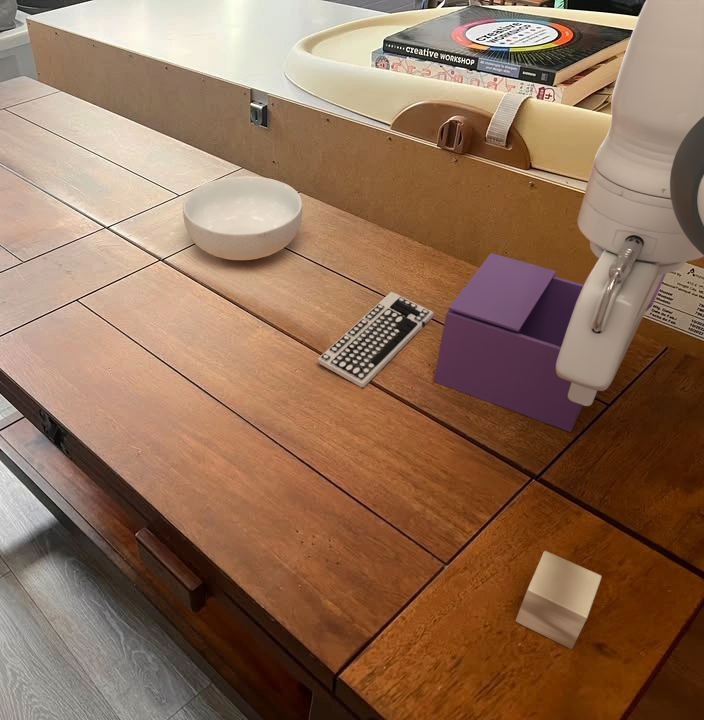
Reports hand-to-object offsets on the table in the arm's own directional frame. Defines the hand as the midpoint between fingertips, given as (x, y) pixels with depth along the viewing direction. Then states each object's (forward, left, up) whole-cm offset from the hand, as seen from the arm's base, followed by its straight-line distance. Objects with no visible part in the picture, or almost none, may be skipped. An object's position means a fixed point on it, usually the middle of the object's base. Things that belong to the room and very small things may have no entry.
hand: (597, 365), depth 61 cm
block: (-4, +12, -17) cm, 21 cm away
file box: (+8, -17, -17) cm, 25 cm away
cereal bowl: (+50, -24, -17) cm, 58 cm away
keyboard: (+24, -14, -17) cm, 33 cm away
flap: (0, -17, -3) cm, 17 cm away
